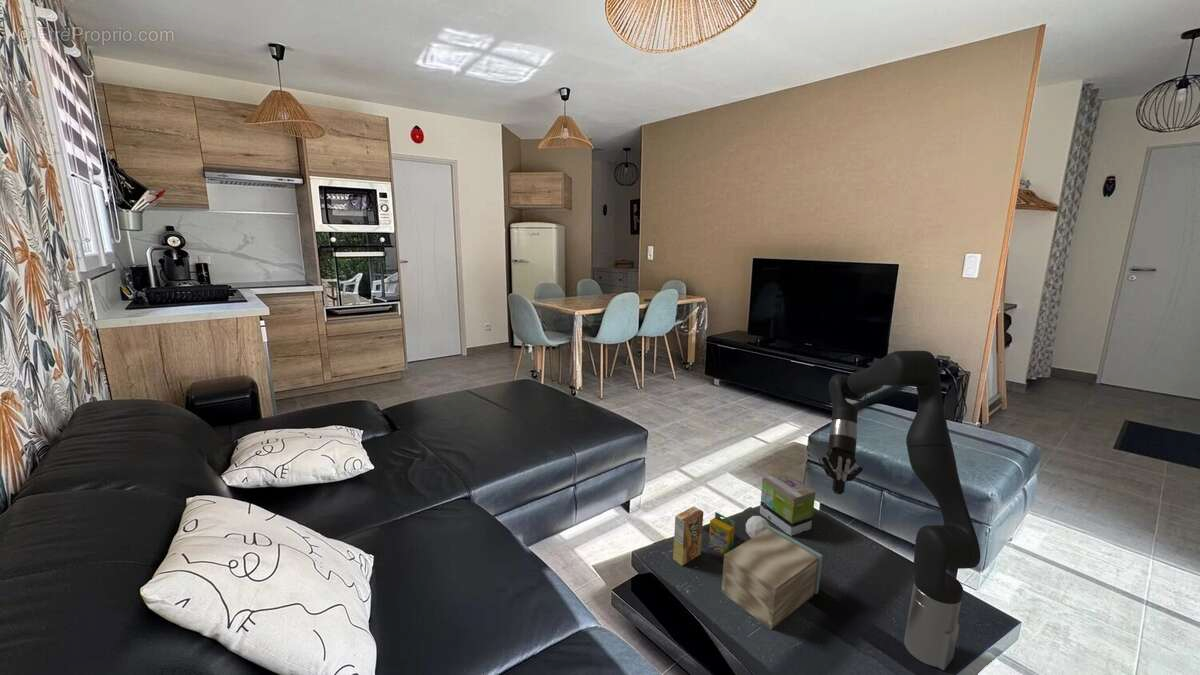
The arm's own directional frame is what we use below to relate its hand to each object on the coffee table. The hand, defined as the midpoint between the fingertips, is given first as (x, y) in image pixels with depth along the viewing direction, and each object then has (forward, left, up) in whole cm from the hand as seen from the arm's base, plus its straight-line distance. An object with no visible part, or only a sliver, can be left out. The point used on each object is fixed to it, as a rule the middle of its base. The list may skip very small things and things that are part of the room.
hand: (838, 493), depth 140 cm
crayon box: (+24, +22, -24) cm, 41 cm away
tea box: (+21, -9, -24) cm, 33 cm away
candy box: (+28, +33, -24) cm, 50 cm away
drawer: (+4, +25, -23) cm, 34 cm away
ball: (+21, +7, -24) cm, 33 cm away
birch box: (+4, +26, -24) cm, 36 cm away
